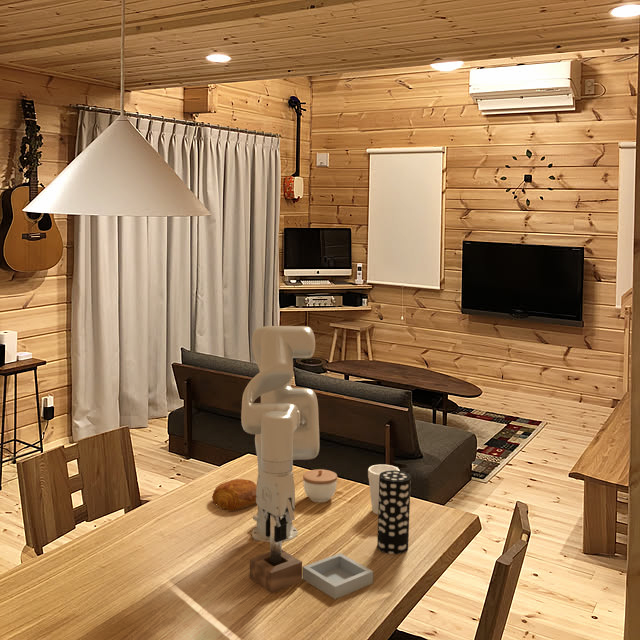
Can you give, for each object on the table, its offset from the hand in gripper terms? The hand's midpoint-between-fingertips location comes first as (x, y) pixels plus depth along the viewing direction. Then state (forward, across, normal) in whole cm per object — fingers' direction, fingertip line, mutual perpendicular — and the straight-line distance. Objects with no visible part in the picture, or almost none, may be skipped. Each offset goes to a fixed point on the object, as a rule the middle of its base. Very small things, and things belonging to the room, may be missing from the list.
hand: (276, 537), depth 171 cm
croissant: (+13, -48, +20) cm, 53 cm away
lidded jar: (+13, -34, +42) cm, 56 cm away
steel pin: (+6, 0, 0) cm, 6 cm away
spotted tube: (+12, +4, +36) cm, 38 cm away
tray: (+12, +10, +11) cm, 19 cm away
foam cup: (+13, -15, +51) cm, 55 cm away
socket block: (+12, 0, 0) cm, 12 cm away
